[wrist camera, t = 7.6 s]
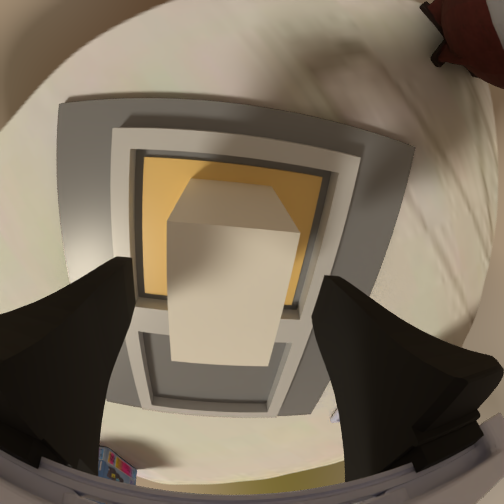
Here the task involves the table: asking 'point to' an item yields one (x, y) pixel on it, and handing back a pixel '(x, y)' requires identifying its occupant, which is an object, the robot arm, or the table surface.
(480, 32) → the mate gourd
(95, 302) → the robot arm
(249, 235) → the plug
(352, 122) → the table surface
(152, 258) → the grey flat tray
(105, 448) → the ink cartridge box
